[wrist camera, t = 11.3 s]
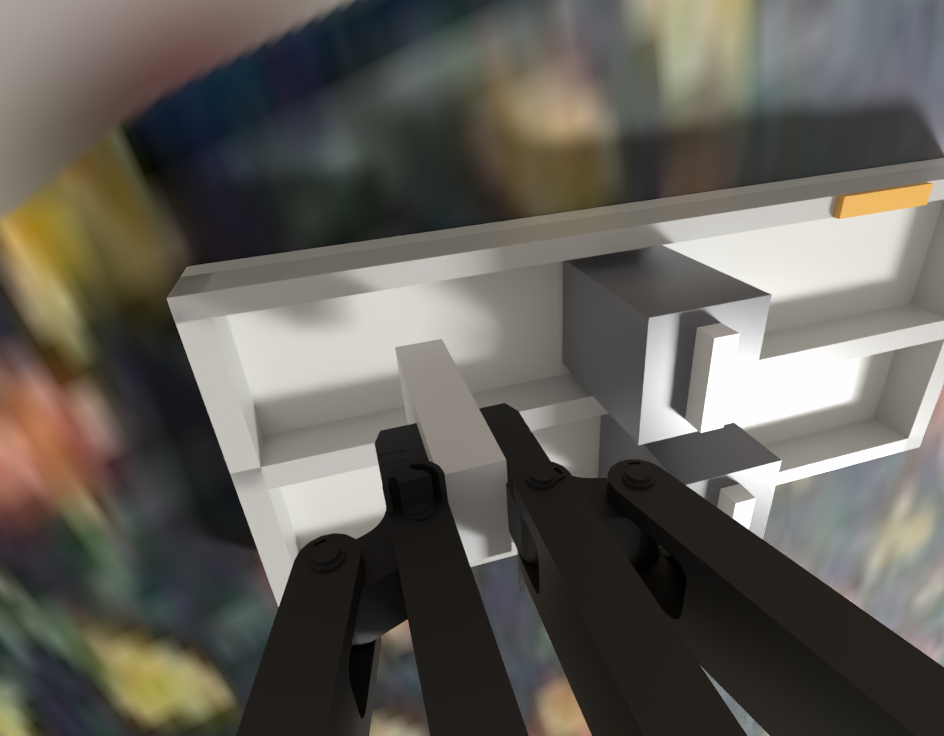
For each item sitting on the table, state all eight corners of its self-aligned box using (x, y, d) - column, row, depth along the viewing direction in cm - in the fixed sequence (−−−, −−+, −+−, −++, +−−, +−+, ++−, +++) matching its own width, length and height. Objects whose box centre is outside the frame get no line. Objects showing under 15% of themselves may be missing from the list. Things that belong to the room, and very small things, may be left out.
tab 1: (650, 345, 23) (764, 432, 18) (562, 363, 23) (651, 460, 17) (659, 243, 21) (792, 303, 15) (563, 259, 21) (664, 328, 15)
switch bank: (865, 414, 31) (925, 450, 28) (284, 558, 25) (281, 623, 22) (946, 157, 25) (1035, 167, 22) (187, 266, 18) (163, 301, 15)
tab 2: (673, 460, 27) (775, 564, 21) (598, 478, 26) (682, 591, 20) (682, 381, 25) (799, 473, 19) (601, 399, 24) (696, 501, 18)
